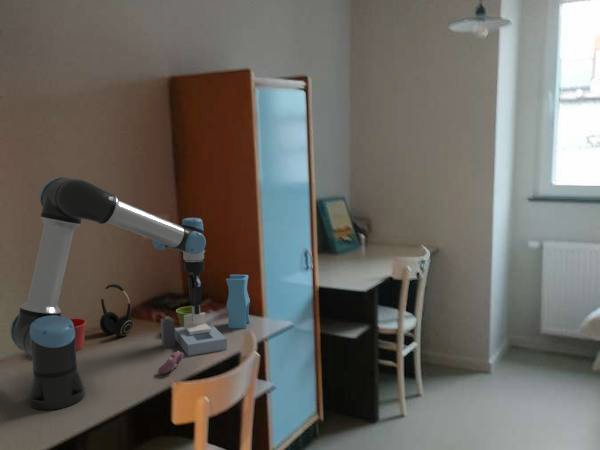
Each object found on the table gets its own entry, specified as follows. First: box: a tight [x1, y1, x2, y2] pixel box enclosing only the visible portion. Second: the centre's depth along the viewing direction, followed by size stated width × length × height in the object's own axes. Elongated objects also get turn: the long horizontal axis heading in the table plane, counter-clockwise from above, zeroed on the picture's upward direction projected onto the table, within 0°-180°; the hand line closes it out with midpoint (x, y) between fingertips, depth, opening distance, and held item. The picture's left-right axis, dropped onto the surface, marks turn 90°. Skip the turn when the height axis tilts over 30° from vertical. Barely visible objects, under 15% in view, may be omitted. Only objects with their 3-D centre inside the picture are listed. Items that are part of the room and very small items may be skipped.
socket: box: [174, 322, 228, 357], centre depth 213 cm, size 14×20×4 cm
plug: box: [160, 315, 176, 349], centre depth 211 cm, size 4×4×11 cm
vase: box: [225, 274, 251, 330], centre depth 233 cm, size 8×8×20 cm
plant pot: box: [175, 305, 192, 328], centre depth 227 cm, size 9×9×9 cm
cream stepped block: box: [184, 312, 211, 335], centre depth 215 cm, size 8×8×5 cm
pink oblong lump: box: [157, 350, 185, 375], centre depth 189 cm, size 10×5×7 cm, turn 169°
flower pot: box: [69, 317, 87, 352], centre depth 209 cm, size 11×11×10 cm
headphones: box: [99, 283, 134, 338], centre depth 222 cm, size 9×15×20 cm, turn 62°
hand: (196, 321), depth 217 cm, fingers closed
